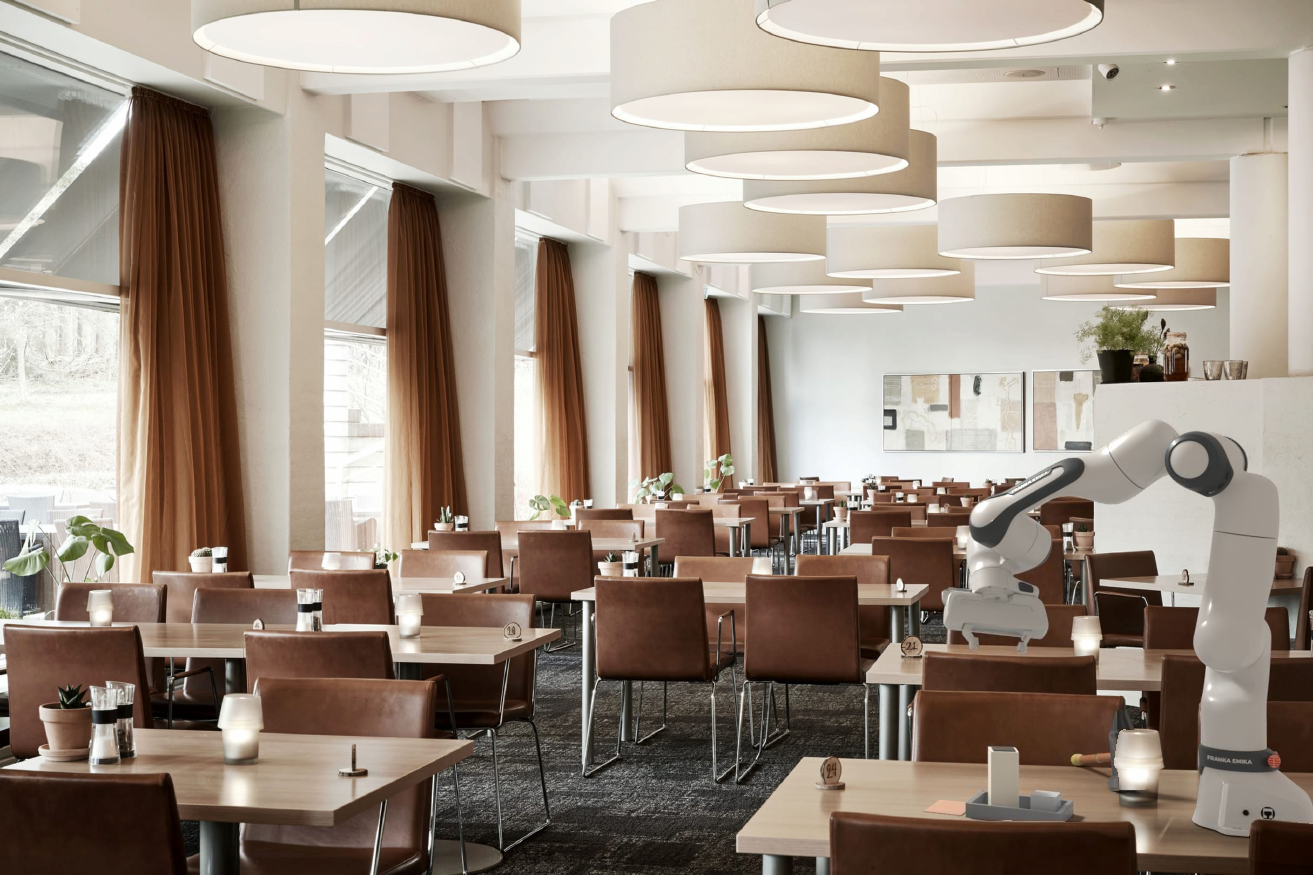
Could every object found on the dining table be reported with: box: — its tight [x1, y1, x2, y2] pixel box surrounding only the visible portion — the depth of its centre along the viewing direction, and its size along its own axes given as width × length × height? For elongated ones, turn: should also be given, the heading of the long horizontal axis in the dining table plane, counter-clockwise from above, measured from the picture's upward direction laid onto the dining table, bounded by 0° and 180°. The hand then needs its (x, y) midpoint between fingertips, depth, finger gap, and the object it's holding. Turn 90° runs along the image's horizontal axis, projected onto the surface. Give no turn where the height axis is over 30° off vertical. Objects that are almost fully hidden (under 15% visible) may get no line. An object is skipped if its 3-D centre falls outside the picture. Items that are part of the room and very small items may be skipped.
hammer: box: [1070, 709, 1136, 792], centre depth 294 cm, size 6×16×30 cm
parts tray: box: [965, 790, 1074, 821], centre depth 258 cm, size 17×12×3 cm
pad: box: [923, 799, 966, 817], centre depth 264 cm, size 7×11×1 cm, turn 153°
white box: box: [987, 745, 1020, 808], centre depth 259 cm, size 5×5×12 cm
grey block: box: [1029, 789, 1062, 812], centre depth 256 cm, size 4×4×4 cm
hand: (998, 649), depth 272 cm, fingers open, 8 cm apart
